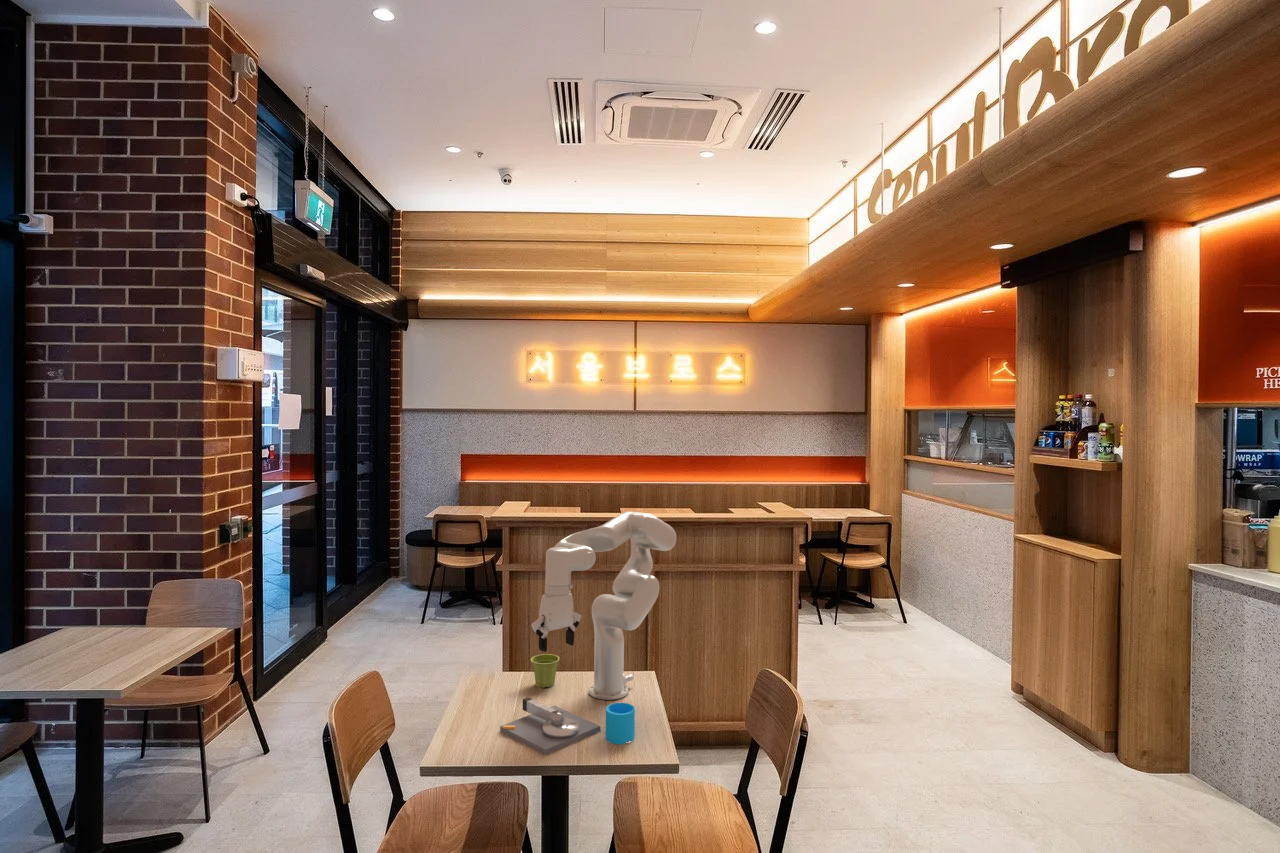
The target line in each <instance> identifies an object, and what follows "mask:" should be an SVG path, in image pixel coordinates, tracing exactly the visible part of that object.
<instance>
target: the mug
mask: <svg viewBox="0 0 1280 853" xmlns="http://www.w3.org/2000/svg"><path fill="white" fill-rule="evenodd" d="M604 733H605V740H606V741H607V742H608V743H610V744H613V743H614V745H625V744H624V743H626V742H629V741H632V740H633V739H634V740H635V738H636V737H635V736H636V735H635V734H636V707H635V706H634V705H633V704H630V703H628V702H613V703H610V704H609V705H606V707H605V732H604ZM634 737H635V738H634ZM634 740H633V741H634ZM633 741H632V742H633Z"/></svg>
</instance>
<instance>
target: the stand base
mask: <svg viewBox="0 0 1280 853" xmlns="http://www.w3.org/2000/svg"><path fill="white" fill-rule="evenodd" d="M549 707H550V708H553V709H555V710H561V711H563V712H564V718H571V719H574V720H576V721H577V722H578V723H579V732H578V733H577V734H576V735H574V736H572V737H569V738H564V739H554V738H550V737H547V736H545V735H544V734H543V724H544V723H545V722H546V720H544V719H541V718H539V717H537V716H535V715H533V714H531V713H530V714H528V715H526V716H522V717H521V718H518V719H516V720H513V721H510V722H508V723H505V724H503V725H500V726H499V732H500V733H502V734H504V735H506V736H508V737H510V738H511V739H514V740H515V741H516V742H519V743H521V744H523V745H525V746H527V747H528V748H531V749H533V750H534V751H537V752H538V753H540V754H542V755H544V756H546V755H547V756H548V755H550V754H552V753H554V752H557V751H559V750H561V749H563V748H565V747H568V746H570V745H572V744H575V743H576V742H578V741H581V740H583V739H586V738H588V737H590V736H592V735H595V734H597V733H598V732H601V725H599V724H597V723H595V722H593V721H590V720H588V719H586V718H584V717H581V716H580V715H577V714H576V713H573V712H570V711H568V710H566V709H564V708H562V707H559V706H557V705H552V706H549Z"/></svg>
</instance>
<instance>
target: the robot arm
mask: <svg viewBox="0 0 1280 853" xmlns="http://www.w3.org/2000/svg"><path fill="white" fill-rule="evenodd" d="M629 540H630V547H631V553H630V557H629V558H628V560H627V562H626V563H625V565H624V566H623V568H622V569H621V570H620V571H619V573H618V574H617V576H616V577H615V579H614V581H613V583H612V592H613V593H614V594H609V593H604V594H600V595H598V596H597V597H596V598H594V600H593V602H592V604H591V617H592V623H593V631H594V634H593V635H594V649H593V650H594V651H593V652H594V656H593V658H594V662H593V663H594V664H593V665H594V666H593V671H594V672H593V673H594V674H593V685H591V686H590V687H589V689H588V693H589V695H590V696H591V697H592V698H595V699H598V700H603V701H604V700H605V701H612V700H619V699H622V698H624V697H626V696H627V695H629V694H628V693H629V687H628V686H627V685H626V684H627V683H628V682H631V681H633V680H634V675H633V674H627V675H625V674H624V671H625V670H624V666H625V664H624V659H625V658H624V656H625V655H624V652H625V647H624V646H625V637H624V632H623V630H625V631H634V630H636V629H637V628H638V627H640V625H642V623H643V621H644V620H645V618H646V617H647V615H648V614H649V612H650V611H651V609H652V608H653V606H654V604H655V603H656V602H657V599H658V597H659V593H660V582H659V579H658V578H657V577H656V576H654V575H652V574H651V572H652V570H653V567H654V564H653V561H654V560H653V558H652V554H651V550H654V551H655V550H656V551H662V552H667V551H670V550H672V549H673V548H674V547H675V545H676V543H677V533H676V531H675V529H674V528H673V527H672V526H671V525H670V524H668V523H666V522H665V521H663V520H662V519H660V518H659V517H657V516H655V515H653V514H651V513H648V512H640V511H639V512H638V511H629V510H628V511H624V512H621V513H620V514H618V515H617V516H615V517H613V518H612V519H610V520H608V521H607V522H605V523H604V524H602V525H599V526H596V527H592V528H588V529H584V530H581V531H578V532H574V533H572V534H570V535H567V537H564V538H563V539H561V540H560V541H558V542H557V543H555V545H554V547H549V548H548V549H547V550H546V552H545V582H544V583H545V584H544V594H542V595H541V599H540V604H539V605H540V606H539V611H538V618H537V619H536V620H535V621H533V622H532V623H531V628H532V630H533V632H534V634H535V635H536V636H537V637H538V650H539V651H541V652H543V653H546V652H547V651H548V638H547V635H548V634H549V632H550V631H556V630H561V629H565V628H566V630H565V644H568V645H570V646H574V644H575V632H576V631H577V628H578V626H579V624H580V621H581V619H582V614H580V613H578V612H575V607H574V606H575V605H574V598H573V593H571V590H572V589H573V588H574V584H573V583H572V579H571V578H572V572H573V571H579V572H580V571H587V570H589V569H591V568H592V567H593V566H594V564H595V562H596V560H597V556H596V553H599V552H600V553H602V552H609V551H613V550H615V549H617V548H618V547H620V546H621V545H622V544H624V543H626V542H627V541H629Z"/></svg>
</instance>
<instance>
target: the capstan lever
mask: <svg viewBox="0 0 1280 853" xmlns="http://www.w3.org/2000/svg"><path fill="white" fill-rule="evenodd" d="M550 707H551V706H548V705H546V704H543V703H541V702H539V701H537V700H535V699H533V698H530V697H529V696H526V697H524V698H522V708H521V709H522V711H525V713H527V712H528V713H529V714H530V715H531V714H533V715H535V716H537V717H539V718H541V719H544V720H546V722H545V723H544V724H543V734H544V735H545V736H547V737H550V738H554V739H564V738H569V737H572V736H574V735H576V734H577V733H578V732H579V723H578V722H577V721H576V720H574V719H571V718H564V712H563V711H561V710H555V709H553V708H550Z"/></svg>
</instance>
